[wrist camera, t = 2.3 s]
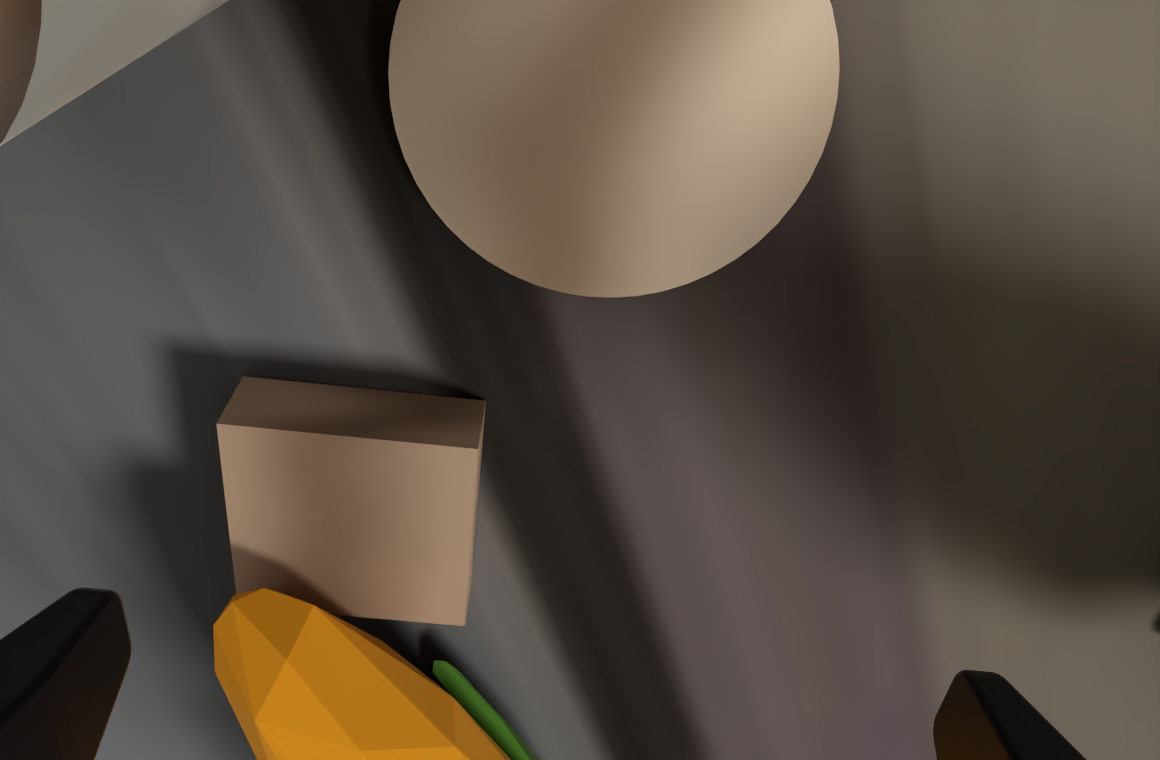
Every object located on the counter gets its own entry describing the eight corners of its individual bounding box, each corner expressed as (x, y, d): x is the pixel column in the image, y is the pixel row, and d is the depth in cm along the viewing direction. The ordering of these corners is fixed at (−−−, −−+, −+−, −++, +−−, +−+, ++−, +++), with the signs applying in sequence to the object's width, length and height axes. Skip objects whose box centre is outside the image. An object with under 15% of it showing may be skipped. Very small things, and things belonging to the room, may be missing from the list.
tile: (485, 400, 23) (478, 449, 22) (472, 572, 27) (465, 626, 25) (243, 375, 23) (216, 423, 21) (259, 553, 26) (237, 606, 25)
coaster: (891, -125, 17) (898, -122, 17) (775, 306, 22) (779, 317, 21) (395, -193, 16) (390, -192, 16) (390, 265, 21) (387, 274, 21)
